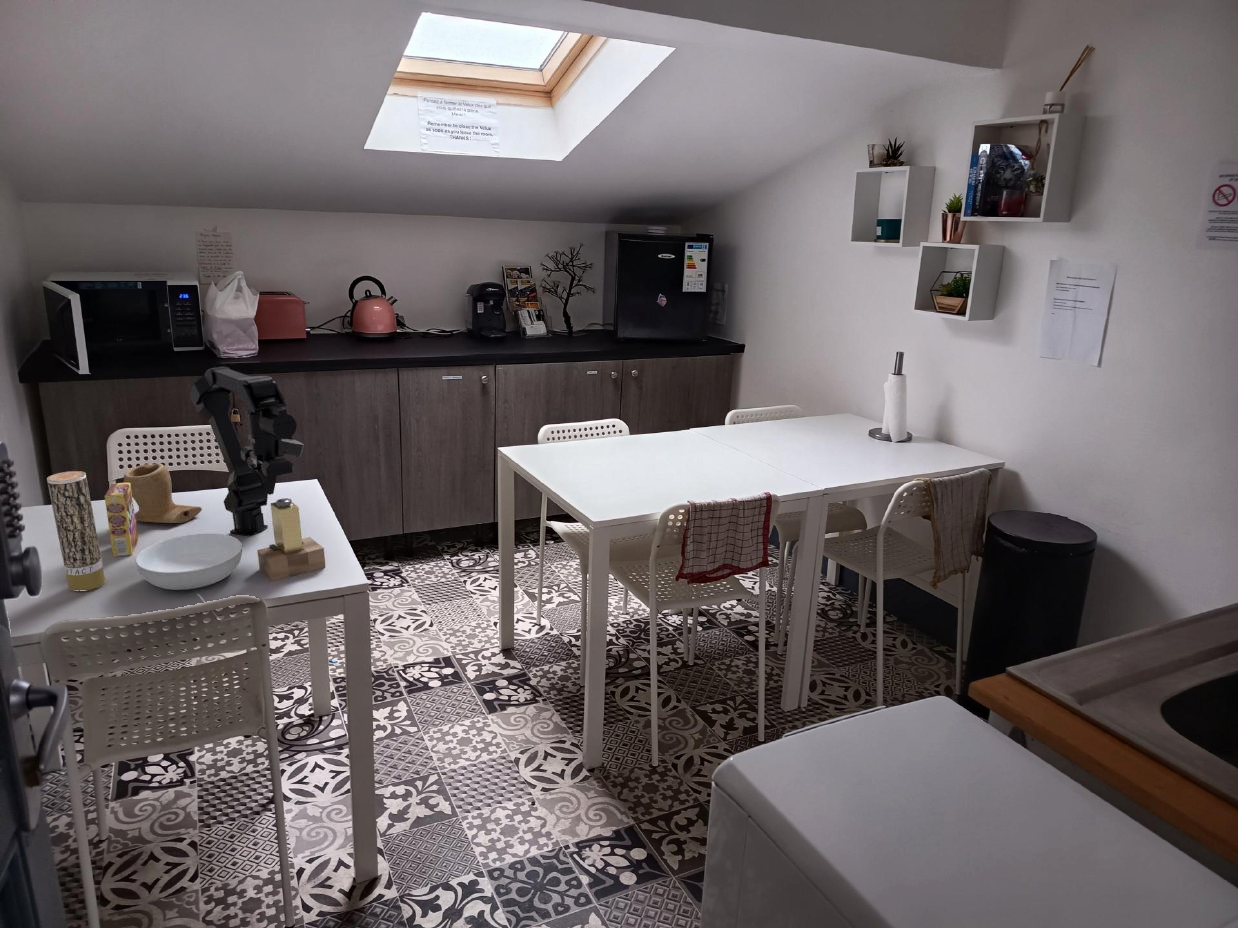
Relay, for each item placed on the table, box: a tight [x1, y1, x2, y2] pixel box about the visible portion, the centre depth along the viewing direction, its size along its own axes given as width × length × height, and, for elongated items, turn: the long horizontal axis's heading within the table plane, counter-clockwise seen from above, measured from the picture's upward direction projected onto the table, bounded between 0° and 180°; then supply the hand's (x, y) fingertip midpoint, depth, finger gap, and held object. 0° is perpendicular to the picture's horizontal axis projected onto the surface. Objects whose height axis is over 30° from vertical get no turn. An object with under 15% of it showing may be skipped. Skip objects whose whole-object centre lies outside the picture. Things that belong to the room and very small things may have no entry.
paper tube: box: [46, 470, 106, 591], centre depth 177 cm, size 7×7×25 cm
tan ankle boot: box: [123, 462, 203, 524], centre depth 214 cm, size 15×12×15 cm
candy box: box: [104, 482, 139, 557], centre depth 197 cm, size 9×4×15 cm, turn 20°
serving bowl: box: [135, 532, 243, 591], centre depth 184 cm, size 21×21×7 cm
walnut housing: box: [257, 536, 327, 582], centre depth 190 cm, size 8×12×6 cm, turn 131°
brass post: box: [270, 497, 303, 555], centre depth 189 cm, size 6×4×16 cm, turn 41°
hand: (270, 494), depth 200 cm, fingers closed
